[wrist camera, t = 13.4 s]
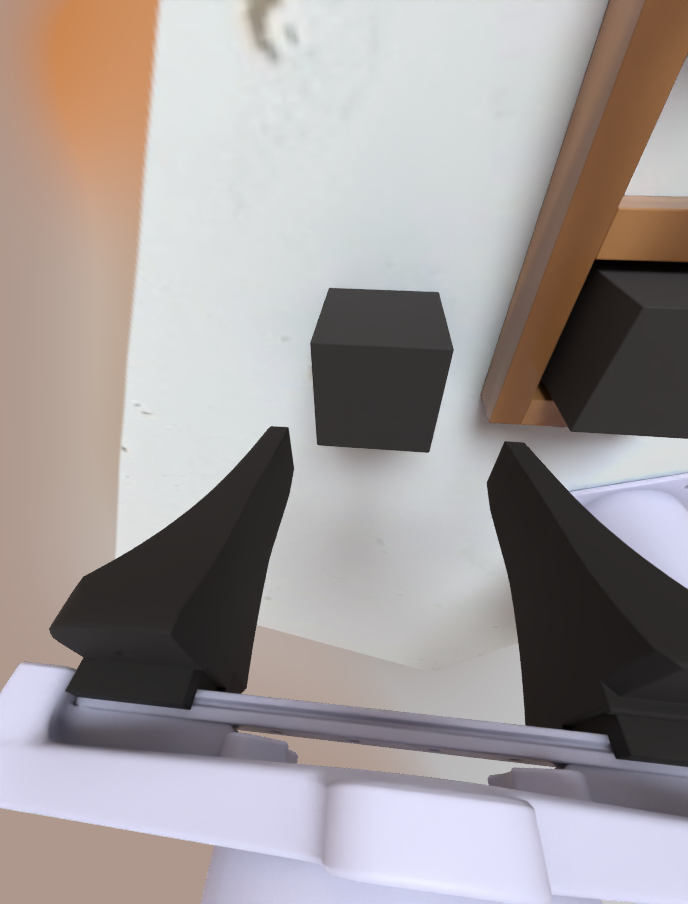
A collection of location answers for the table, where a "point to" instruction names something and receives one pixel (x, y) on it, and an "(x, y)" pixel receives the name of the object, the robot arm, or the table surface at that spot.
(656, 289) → the dark grey block
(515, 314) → the wooden frame
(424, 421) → the black block
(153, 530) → the table surface
